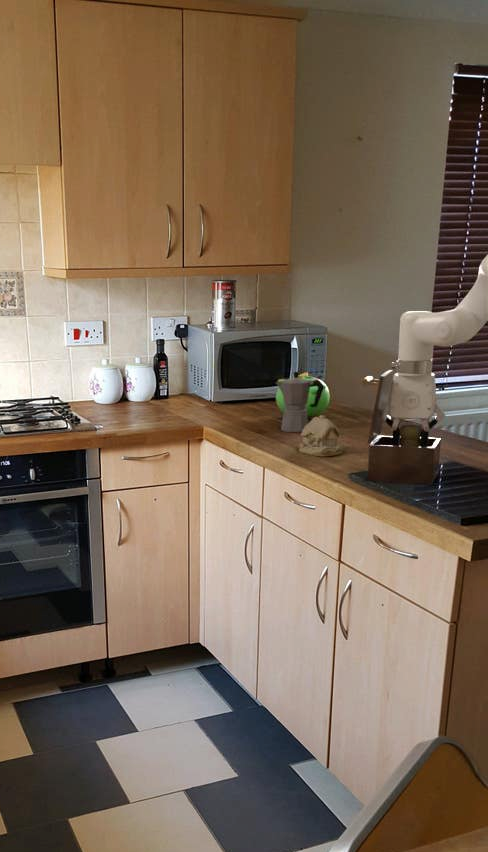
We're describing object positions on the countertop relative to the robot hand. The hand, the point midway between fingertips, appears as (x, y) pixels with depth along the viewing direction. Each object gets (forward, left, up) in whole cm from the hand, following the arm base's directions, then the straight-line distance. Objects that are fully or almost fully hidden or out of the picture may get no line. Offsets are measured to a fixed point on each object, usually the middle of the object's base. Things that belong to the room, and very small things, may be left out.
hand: (409, 446), depth 205 cm
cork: (0, 0, -6) cm, 6 cm away
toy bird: (+47, -83, -8) cm, 96 cm away
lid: (+7, 0, +9) cm, 11 cm away
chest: (+1, 0, -8) cm, 8 cm away
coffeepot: (+42, -59, -8) cm, 73 cm away
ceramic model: (+27, -27, -8) cm, 39 cm away
